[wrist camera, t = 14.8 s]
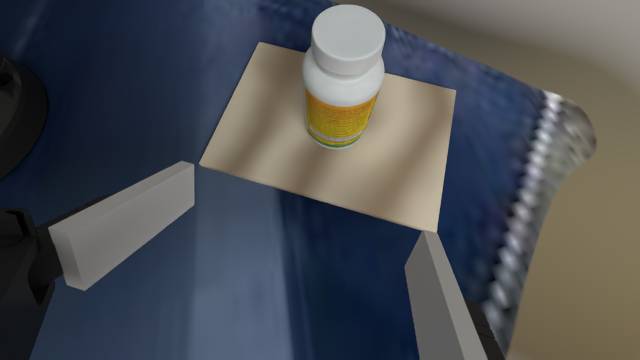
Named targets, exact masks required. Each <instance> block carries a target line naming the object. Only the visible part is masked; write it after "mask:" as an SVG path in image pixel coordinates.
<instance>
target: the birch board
mask: <svg viewBox="0 0 640 360" xmlns="http://www.w3.org/2000/svg"><path fill="white" fill-rule="evenodd" d="M305 54H306V53H303V52H299V51H295V50H290V49H286V48H282V47H278V46H274V45H270V44H266V43H262V42H259V43H258V45H257V47H256V49H255V51H254V53H253V55H252V57H251V59H250V61H249V63H248V65H247V67H246V69H245V71H244V73H243V76H242V78H241V80H240V82H239V84H238V86H237V88H236V90H235V92H234V94H233V96H232V98H231V100H230V102H229V104H228V106H227V108H226V110H225V112H224V114H223V116H222V118H221V120H220V122H219V124H218V126H217V128H216V130H215V132H214V134H213V136H212V138H211V140H210V142H209V144H208V146H207V148H206V150H205V152H204V154H203V156H202V158H201V160H200V162H199V164H200V165H201V166H203V167H206V168H209V169H213V170H216V171H220V172H223V173H227V174H230V175H233V176H237V177H240V178H244V179H247V180H251V181H254V182H257V183H261V184H264V185H268V186H271V187H275V188H278V189H281V190H285V191H288V192H292V193H295V194H299V195H302V196H305V197H309V198H312V199H316V200H319V201H323V202H326V203H329V204H333V205H336V206H340V207H343V208H347V209H350V210H353V211H357V212H360V213H364V214H367V215H370V216H374V217H377V218H381V219H384V220H388V221H391V222H394V223H398V224H401V225H405V226H408V227H412V228H415V229H418V230H422V231H423V230H427V231H430V232H434V233H436V232H437V225H438V217H439V210H440V203H441V196H442V189H443V181H444V174H445V167H446V160H447V153H448V145H449V138H450V131H451V124H452V116H453V109H454V102H455V95H456V90H452V89H448V88H444V87H440V86H436V85H432V84H428V83H424V82H420V81H416V80H411V79H407V78H403V77H399V76H395V75H391V74H387V73H384V79H383V82H382V85H381V88H380V91H379V93H378V96H377V99H376V101H375V104H374V107H373V109H372V112H371V115H370V117H369V120H368V123H367V126H366V128H365V131H364V133H363V135H362V136H361V138H360V139H359V140H358V141H357V142H356V143H355V144H353V145H352V146H350V147H348V148H344V149H328V148H325V147H323V146H321V145H319V144H318V143H316V142H315V141H314V140H313V139H312V138H311V137H310V136H309V134H308V132H307V130H306V126H305V118H304V100H303V86H302V62H303V59H304V56H305Z"/></svg>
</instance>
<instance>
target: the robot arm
mask: <svg viewBox="0 0 640 360" xmlns="http://www.w3.org/2000/svg"><path fill="white" fill-rule="evenodd" d="M46 115H47V96H46V92H45V89H44V87H43V85H42V83H41V82H40V80H39V79H38V78H37V77H36V76H35V75H34V74H33V73H32V72H30V71H29V70H28V69H26V68H25V67H23V66H22V65H20V64H19V63H17V62H16V61H15V60H13V59H12V58H10V57H9V56H7V55H6V54H4V53H2V52H0V180H1V179H2V178H3V177H4V176H6V175H7V174H8V173H9V172H10V171H11V170H13V169H14V168H15V167H16V166H17V165H18V164H19V163H20V162H21V161H22V159H23V158H24V157H25V156H26V155H27V154H28V152H29V151H30V150H31V148H32V147H33V145H34V144H35V142H36V141H37V139H38V137H39V135H40V133H41V131H42V129H43V126H44V123H45V120H46ZM193 205H194V164H191V163H187V162H184V161H180V162H178V163H176V164H174V165H172V166H170V167H168V168H166V169H164V170H162V171H160V172H158V173H156V174H154V175H152V176H150V177H148V178H146V179H144V180H142V181H140V182H138V183H136V184H134V185H132V186H130V187H128V188H126V189H124V190H122V191H120V192H118V193H116V194H110V195H106V196H103V197H99V198H96V199H94V200H92V201H90V202H88V203H86V204H85V205H82V206H80V207H78V208H76V209H75V210H71V211H69V212H67V213H65V214H63V215H61V216H59V217H57V218H55V219H53V220H51V221H49V222H47V223H45V224H42V225H40V226H38V227H36V228H35V226H34V223H33V220H32V217H31V214H30V212H28V211H27V210H25V209H21V208H5V209H0V360H29V358H30V356H31V353H32V350H33V347H34V344H35V342H36V339H37V336H38V333H39V330H40V328H41V325H42V322H43V319H44V317H45V314H46V311H47V308H48V305H49V303H50V300H51V297H52V294H53V291H54V289H55V282H54V280H55V279H56V278H58V277H59V276H61V275H62V274H63V275H64V278H65V281H66V284H67V285H69V286H72V287H74V288H77V289H80V290H83V291H85V290H87V289H88V288H89V287H90V286H92V285H93V284H94V283H95V282H97V281H98V280H99V279H101V278H102V277H103V276H104V275H106V274H107V273H108V272H109V271H111V270H112V269H113V268H115V267H116V266H117V265H118V264H120V263H121V262H122V261H123V260H125V259H126V258H127V257H129V256H130V255H131V254H132V253H134V252H135V251H136V250H137V249H139V248H140V247H141V246H143V245H144V244H145V243H146V242H148V241H149V240H150V239H151V238H153V237H154V236H155V235H157V234H158V233H159V232H160V231H162V230H163V229H164V228H165V227H167V226H168V225H169V224H171V223H172V222H173V221H174V220H176V219H177V218H178V217H179V216H181V215H182V214H183V213H185V212H186V211H187V210H188V209H190V208H191V207H192V206H193ZM405 273H406V279H407V285H408V291H409V297H410V302H411V308H412V314H413V320H414V326H415V332H416V338H417V344H418V350H419V356H420V360H505V359H504V356H503V354H502V352H501V350H500V348H499V345H498V343H497V341H496V340H495V337H494V334H493V332H492V330H491V329H490V326H489V324H488V321H487V319H486V317H485V315H484V313H483V312H482V311H481V310H480V308H479V307H478V306H477V305H476V303H475V302H473V301H469V300H466V299H463V296H462V294H461V291H460V289H459V286H458V284H457V281H456V279H455V276H454V274H453V271H452V269H451V266H450V264H449V261H448V259H447V256H446V254H445V251H444V249H443V246H442V244H441V241H440V239H439V236H438V234H437V233H434V232H430V231H427V230H423V231H422V233H421V235H420V237H419V239H418V241H417V243H416V245H415V247H414V249H413V251H412V253H411V255H410V257H409V259H408V261H407V263H406V265H405Z"/></svg>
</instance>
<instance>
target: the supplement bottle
mask: <svg viewBox="0 0 640 360" xmlns="http://www.w3.org/2000/svg"><path fill="white" fill-rule="evenodd" d="M384 41H385V28H384V25H383V23H382V21H381V20H380V19H379V17H378V16H377V15H376V14H374V13H373V12H371V11H370V10H368V9H366V8H364V7H360V6H356V5H337V6H333V7H331V8H328V9H327V10H325V11H323V12H322V13H321V14H320V15H318V17H317V18H316V20H315V21H314V23H313V27H312V42H311V47H310V48H309V49H308V51H307V52H306V54H305V56H304V59H303V62H302V86H303V100H304V118H305V126H306V130H307V132H308V134H309V136H310V137H311V138H312V139H313V140H314V141H315V142H316V143H318V144H319V145H321V146H323V147H325V148H328V149H344V148H348V147H350V146H352V145H353V144H355V143H356V142H357V141H358V140H359V139H360V138H361V136H362V135H363V133H364V131H365V128H366V126H367V123H368V120H369V117H370V115H371V112H372V109H373V107H374V104H375V101H376V99H377V96H378V93H379V91H380V88H381V85H382V82H383V79H384V63H383V60H382V57H381V53H382V49H383V45H384Z"/></svg>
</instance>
